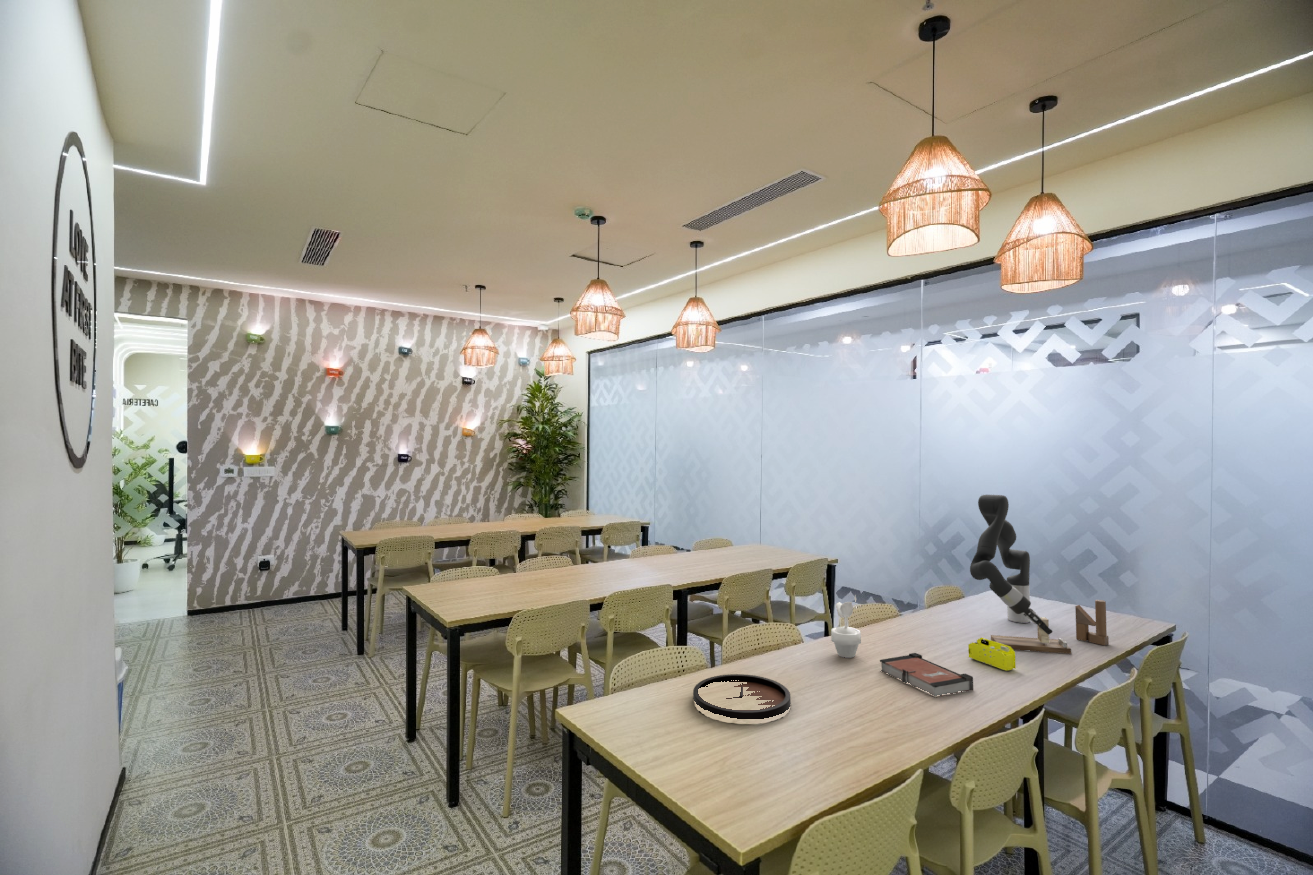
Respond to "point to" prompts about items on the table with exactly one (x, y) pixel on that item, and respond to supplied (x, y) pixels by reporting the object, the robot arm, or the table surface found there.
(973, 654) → the yellow toy chassis
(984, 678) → the table surface
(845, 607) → the potted plant
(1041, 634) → the beige tall blocky piece
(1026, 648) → the walnut board
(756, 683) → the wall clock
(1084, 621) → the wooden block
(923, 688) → the book
